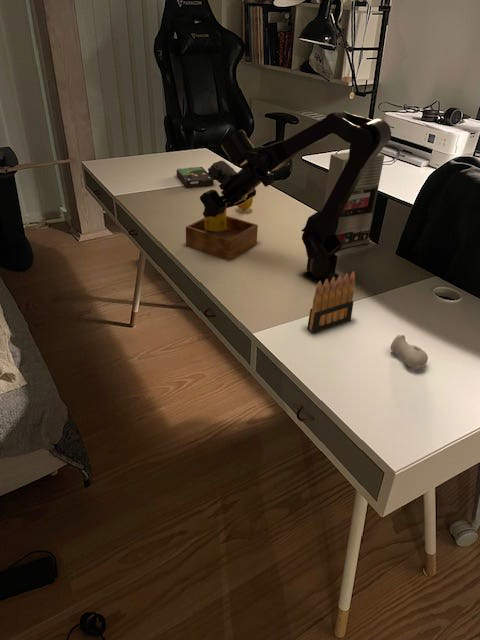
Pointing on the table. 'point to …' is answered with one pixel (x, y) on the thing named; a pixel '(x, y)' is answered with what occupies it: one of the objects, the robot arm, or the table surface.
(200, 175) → the disk drive
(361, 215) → the labelled white carton
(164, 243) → the table surface
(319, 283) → the ammunition clip
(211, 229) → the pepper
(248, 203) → the lemon
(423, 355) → the pale two-lobed sculpture
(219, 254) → the wooden tray
